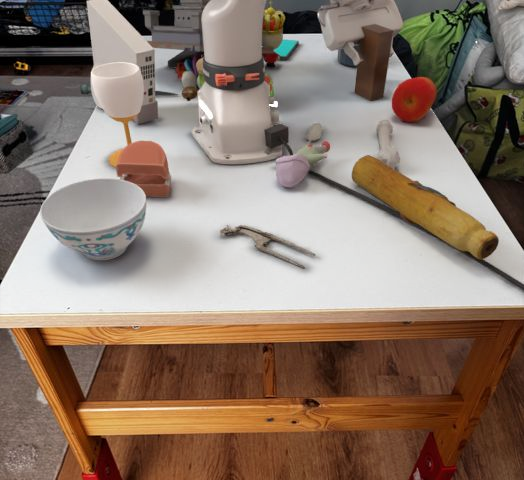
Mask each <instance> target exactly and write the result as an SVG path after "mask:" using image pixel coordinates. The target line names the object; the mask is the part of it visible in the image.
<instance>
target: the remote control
mask: <svg viewBox="0 0 524 480" xmlns="http://www.w3.org/2000/svg"><path fill="white" fill-rule="evenodd" d="M196 53H198V54H200V55H201V56H202V57H203V56H204V52H203V51H189V50H181V52H179V53H177V54H176V55H174V56H173V57H171V58H170V59H168V60H167V67H168V68H170V69H171V68H172V69H177V63H185V60H186V59H191V60H193V57H194V55H195V54H196Z"/></svg>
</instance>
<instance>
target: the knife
mask: <svg viewBox="0 0 524 480" xmlns="http://www.w3.org/2000/svg"><path fill="white" fill-rule="evenodd" d="M79 89H80V93H81V95H89V94H92V91H91V86H89V85H88V84H80V87H79ZM178 95H179V93H174V92H168V91H162V90H155V97H172V96H173V97H174V96H178Z"/></svg>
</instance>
